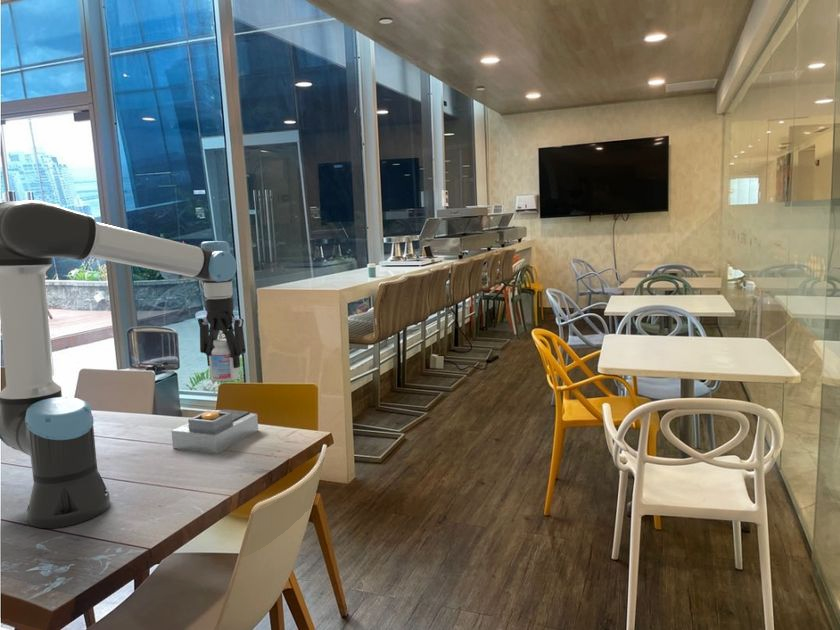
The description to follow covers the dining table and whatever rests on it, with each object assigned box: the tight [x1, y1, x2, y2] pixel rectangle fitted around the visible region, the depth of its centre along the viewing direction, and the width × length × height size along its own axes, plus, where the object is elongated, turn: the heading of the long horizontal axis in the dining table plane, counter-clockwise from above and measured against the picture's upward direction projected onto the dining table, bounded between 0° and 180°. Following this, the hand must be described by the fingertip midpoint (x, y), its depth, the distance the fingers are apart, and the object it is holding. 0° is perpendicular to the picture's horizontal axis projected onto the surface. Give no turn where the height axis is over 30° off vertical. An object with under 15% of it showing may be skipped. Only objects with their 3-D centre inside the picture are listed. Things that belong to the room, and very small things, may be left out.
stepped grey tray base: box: [171, 409, 259, 455], centre depth 171 cm, size 19×14×8 cm
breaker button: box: [201, 412, 219, 421], centre depth 167 cm, size 4×4×8 cm
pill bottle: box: [211, 338, 232, 382], centre depth 173 cm, size 6×6×11 cm
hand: (224, 378), depth 174 cm, fingers closed on pill bottle, 6 cm apart
